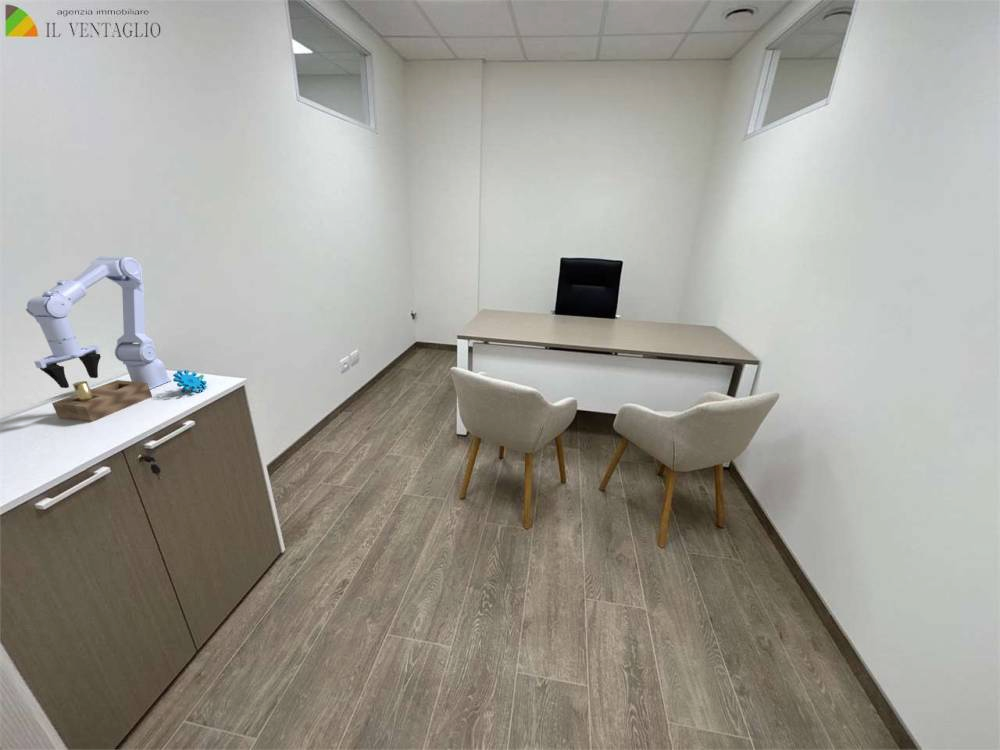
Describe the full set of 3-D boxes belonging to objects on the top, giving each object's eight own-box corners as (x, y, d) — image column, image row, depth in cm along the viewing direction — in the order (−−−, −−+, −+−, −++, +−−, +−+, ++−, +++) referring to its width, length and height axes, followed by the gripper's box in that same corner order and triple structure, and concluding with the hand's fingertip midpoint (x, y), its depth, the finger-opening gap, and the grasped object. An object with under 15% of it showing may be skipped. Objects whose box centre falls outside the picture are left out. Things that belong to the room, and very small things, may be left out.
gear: (191, 393, 130) (167, 372, 129) (182, 405, 132) (157, 384, 130) (216, 384, 141) (194, 365, 140) (207, 395, 142) (185, 376, 141)
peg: (93, 410, 122) (81, 380, 118) (101, 411, 122) (89, 381, 118) (82, 415, 119) (69, 384, 116) (91, 415, 119) (78, 385, 115)
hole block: (122, 393, 134) (117, 380, 132) (152, 396, 132) (147, 382, 130) (58, 418, 117) (51, 403, 115) (91, 421, 115) (85, 406, 113)
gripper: (41, 347, 105) (62, 393, 111) (100, 332, 119) (116, 374, 124) (20, 345, 107) (41, 391, 112) (81, 331, 120) (98, 372, 125)
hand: (80, 382), depth 118 cm, fingers open, 7 cm apart
